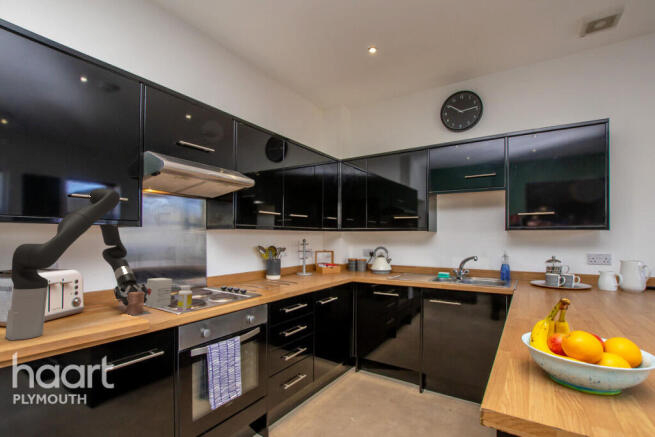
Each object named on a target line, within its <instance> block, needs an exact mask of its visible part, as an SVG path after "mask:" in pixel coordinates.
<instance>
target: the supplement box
mask: <svg viewBox="0 0 655 437" xmlns="http://www.w3.org/2000/svg"><path fill="white" fill-rule="evenodd" d="M146 282H147V283H146V288H147V290H148V294H147V295H146V298H147V301H146V303H145V307H149V308H155V309H159V308H164V307H169V306H168V305H170V306H171V298H172V286H173V279H172V278H168V277H167V278H166V277H157V278H147V281H146Z"/></svg>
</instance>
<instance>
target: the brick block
mask: <svg viewBox="0 0 655 437" xmlns="http://www.w3.org/2000/svg"><path fill="white" fill-rule="evenodd" d="M127 300H128V302H129V304H128V305H127V306H126V312H125V313H126V314H128V315H137V314H143V311H144V304H145V303H144V292H139V291H137V292H130V293H128V295H127Z"/></svg>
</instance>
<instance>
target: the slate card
mask: <svg viewBox="0 0 655 437" xmlns="http://www.w3.org/2000/svg"><path fill="white" fill-rule="evenodd" d="M124 313H125V314H126V312H124ZM149 314H152V312H150V311H145V310H143V314H137V315H131V316H134V317H138V316H144V315H149Z"/></svg>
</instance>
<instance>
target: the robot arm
mask: <svg viewBox="0 0 655 437" xmlns="http://www.w3.org/2000/svg"><path fill="white" fill-rule="evenodd" d="M90 191H91V190H90ZM89 193H90V192H89ZM90 196H91V197H90V202H91V203H92V204H93V205H86V206H85V207H80V208H77V209H75V210H72V211H71V212H70V213H68V214H67V215H66V216H65V217H63V218H62V219H61V220H60V221H59V222H58V225H57V229H56V235H55V236H53V237H52V238H51V239H50V240H48V241H46V242H45V243H21V244H20V245H18V246H17V247H16V249H15V250H14V252H13V254H12V258H11V259H12V260H11V276H10V277H11V282H12V286H13V287H12V297H11V304H10V309H9V310H8V311H7V316H6V317H7V318H6V327H5V328H6V329H5V334H4V335H5V336H4V337H5V339H7V340H8V341H9V340H10V341H15V340H16V341H17V340H26V339H27V340H28V339H33V338H36V337H37V338H38V337H40V336H43V334H44V327H45V326H44V324H45V316H46V306H47V298H48V288H49V280H48V279H47V278H45V277H43V276H42V275H40V274H39V272H38V270H44V269H48V268H50V267H52V266H53V265H54V264H55V263H56V262H57V261H59V259H60V258H61V257H62V255H63V254H64V253H65V252H66V251H67V250H68V248H69V247H71V245H73V244H74V242H75V241H77V240H78V239H79V238H80V237H81V236H82V235H83V234H85V233H86V232H87V231H88V230H89V229H90V228H91V227H92V226H93V225H95V223H96V222H98V220H99V219H100V218H101V217H102V216H104V215H105V214H107V215H108V214H109V213H110V212H111V211H112V210H114V209H115V208H116V207H117V206H118V205H119V203H120V200H121V196H120V194H119V192H118V191H117V190H115V189H111V188H109V189H107V188H101V189H95V190H93V191H91V193H90ZM99 228H100V230H101V235H102V239H103V243H104V245H105V246H109V247H107V248H105V249H104V250H102V253H101V255H102V258H103V259H104V260H105V262H106V263H108V265H109V266H110V267H111V268H112V272H113V274H114V277H115V280H116V282H117V285H118V286H117V285H116V286H115V287H114V288H113V293H114V296H115V299H116V300H121V301H122V304H123V305H124V306H125V307H127V305H128V304H129V302H128V300H127V298H128V293H130V292H144V304H146V301H147V298H146V295H147V294H148V290H147V285H145V284H144V283H141V285H140V284H139V283H138V282H137V279H136V277H135V274H134V272H133V270H132V269H131V266H130V265H129V263H128V261H127V260H126V259H125V258H126V257H127V255H128V251H127V248H126V247H125V245H124V243H123V242H122V240H121V236H120V232H119V228H118V226H117V225H116V226H113V225H99ZM121 292H122V294H121Z"/></svg>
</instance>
